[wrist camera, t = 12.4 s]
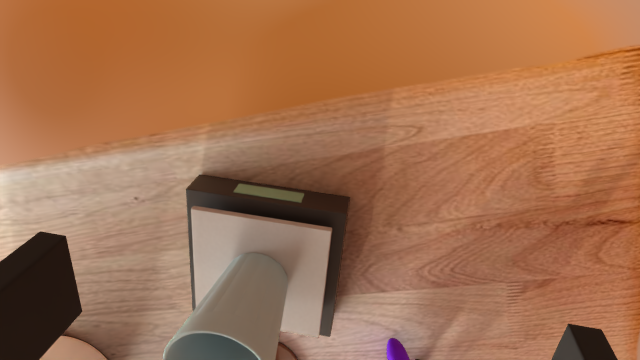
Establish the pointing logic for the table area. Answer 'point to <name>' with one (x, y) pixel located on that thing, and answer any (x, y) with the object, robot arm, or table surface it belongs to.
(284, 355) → the round wooden coaster
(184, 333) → the cup
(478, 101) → the table surface
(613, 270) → the table surface
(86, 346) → the pitcher
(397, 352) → the fox figurine
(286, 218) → the scale
